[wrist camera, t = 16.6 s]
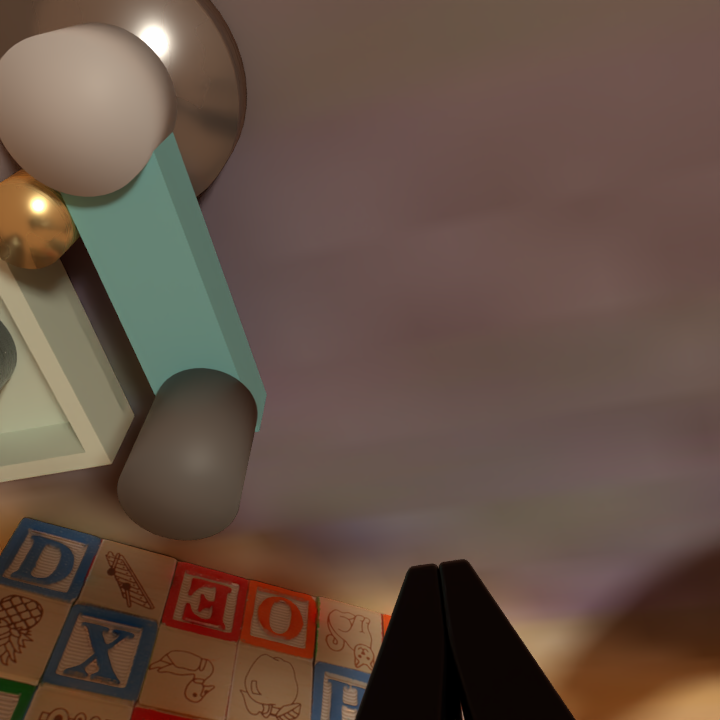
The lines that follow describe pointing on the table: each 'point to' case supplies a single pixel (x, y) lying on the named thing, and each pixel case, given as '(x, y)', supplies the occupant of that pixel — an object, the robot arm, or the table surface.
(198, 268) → the crank
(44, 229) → the crank base
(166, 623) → the stack of blocks
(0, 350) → the dark metal cylinder
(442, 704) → the robot arm
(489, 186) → the table surface
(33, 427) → the tray
